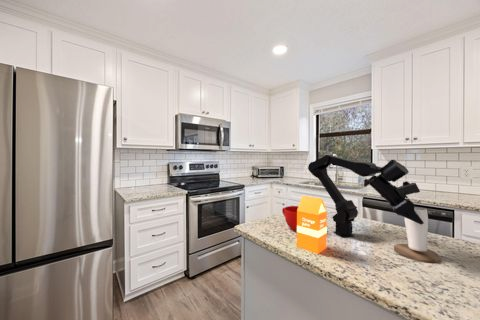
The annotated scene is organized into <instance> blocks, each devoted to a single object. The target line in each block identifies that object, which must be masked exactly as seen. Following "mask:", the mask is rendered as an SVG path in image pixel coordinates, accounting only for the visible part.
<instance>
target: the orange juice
mask: <svg viewBox="0 0 480 320" xmlns="http://www.w3.org/2000/svg"><path fill="white" fill-rule="evenodd" d="M298 206H299V207H298V210H297V231H296V247H297V248H300V249H302V250H305V251H308V252H311V253H314V254H316V255H319V254H320V253H321V252H323V251H324V250H326V249H327V233H328V232H327V230H328V229H327V228H328V225H327V223H328V222H327V220H328V218H327V217H328V212H327V209H326V205H325V202H324V200H323V198H321V197H315V196H307V195H301V199H300V201H299V205H298Z"/></svg>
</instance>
